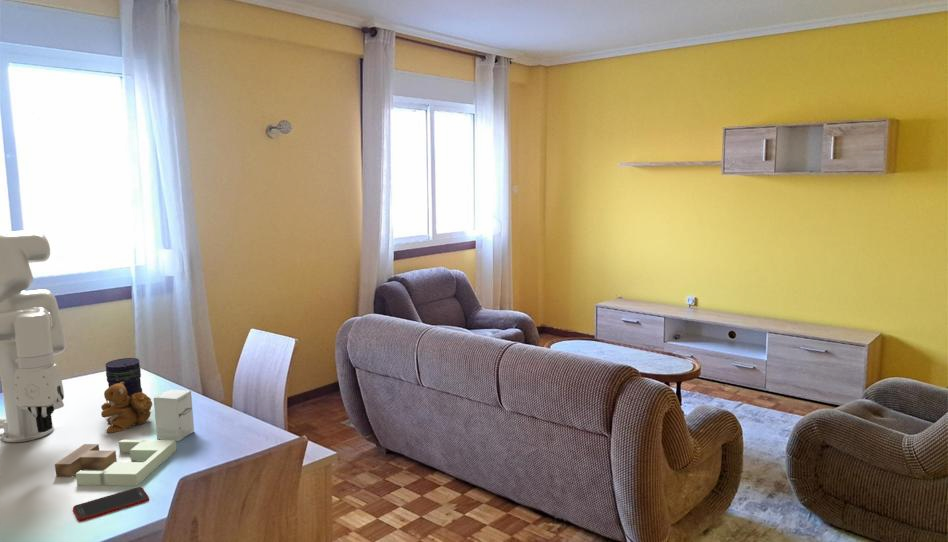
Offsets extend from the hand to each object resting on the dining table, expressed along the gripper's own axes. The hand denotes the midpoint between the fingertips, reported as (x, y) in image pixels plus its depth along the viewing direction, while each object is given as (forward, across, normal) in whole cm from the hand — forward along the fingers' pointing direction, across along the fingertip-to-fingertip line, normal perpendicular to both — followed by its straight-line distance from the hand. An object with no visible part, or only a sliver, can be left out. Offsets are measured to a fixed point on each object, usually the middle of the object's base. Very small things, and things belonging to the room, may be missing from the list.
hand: (45, 430), depth 174 cm
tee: (+10, +11, +1) cm, 15 cm away
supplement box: (+10, +23, +21) cm, 33 cm away
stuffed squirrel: (+10, +5, +28) cm, 31 cm away
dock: (+11, +21, +1) cm, 23 cm away
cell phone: (+12, +27, -18) cm, 35 cm away
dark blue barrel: (+9, -4, +43) cm, 44 cm away
